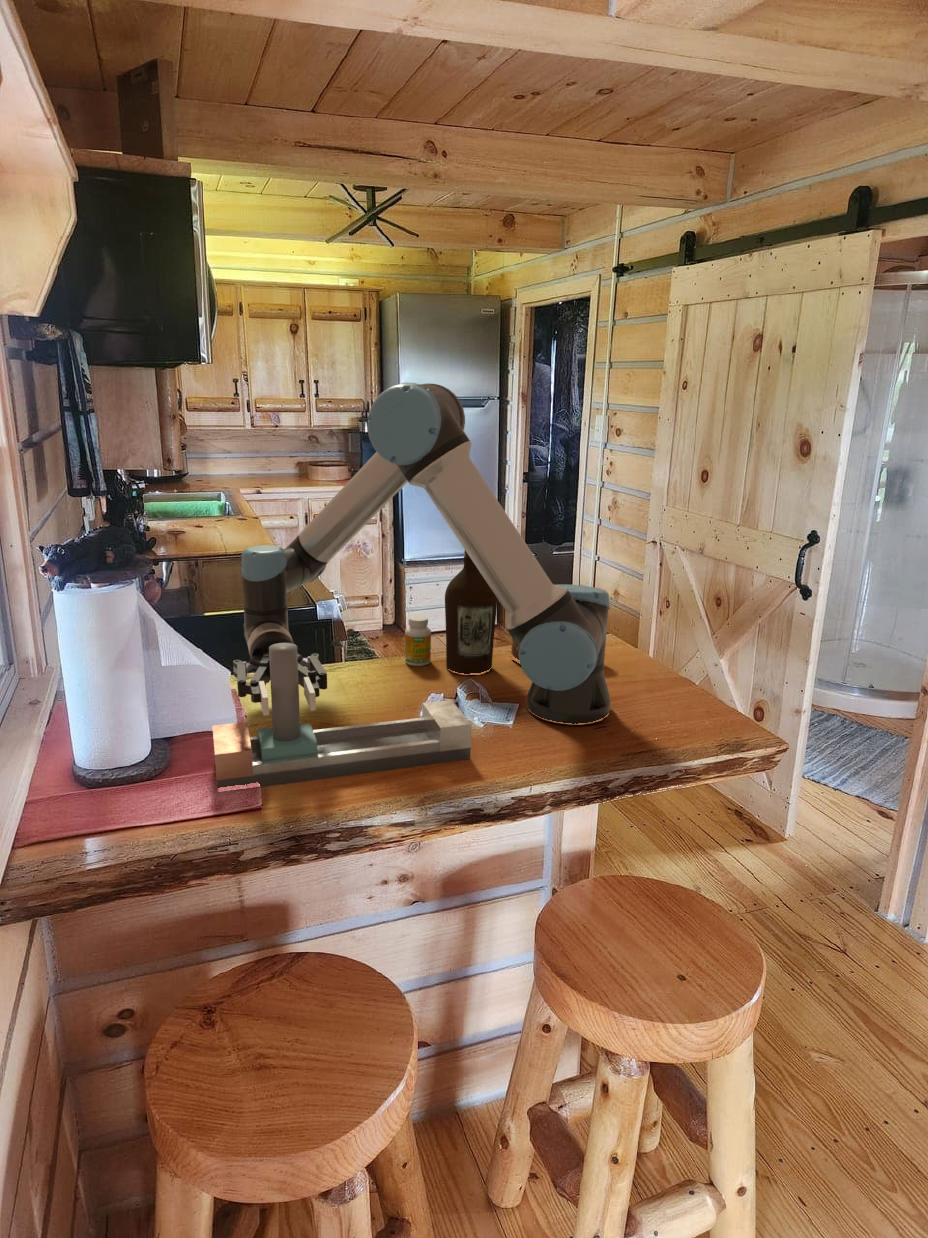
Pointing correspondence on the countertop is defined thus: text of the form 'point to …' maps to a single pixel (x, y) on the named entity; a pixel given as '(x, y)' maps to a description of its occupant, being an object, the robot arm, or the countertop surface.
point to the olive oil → (469, 621)
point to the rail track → (347, 749)
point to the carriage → (285, 710)
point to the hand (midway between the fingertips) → (289, 704)
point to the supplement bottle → (418, 641)
